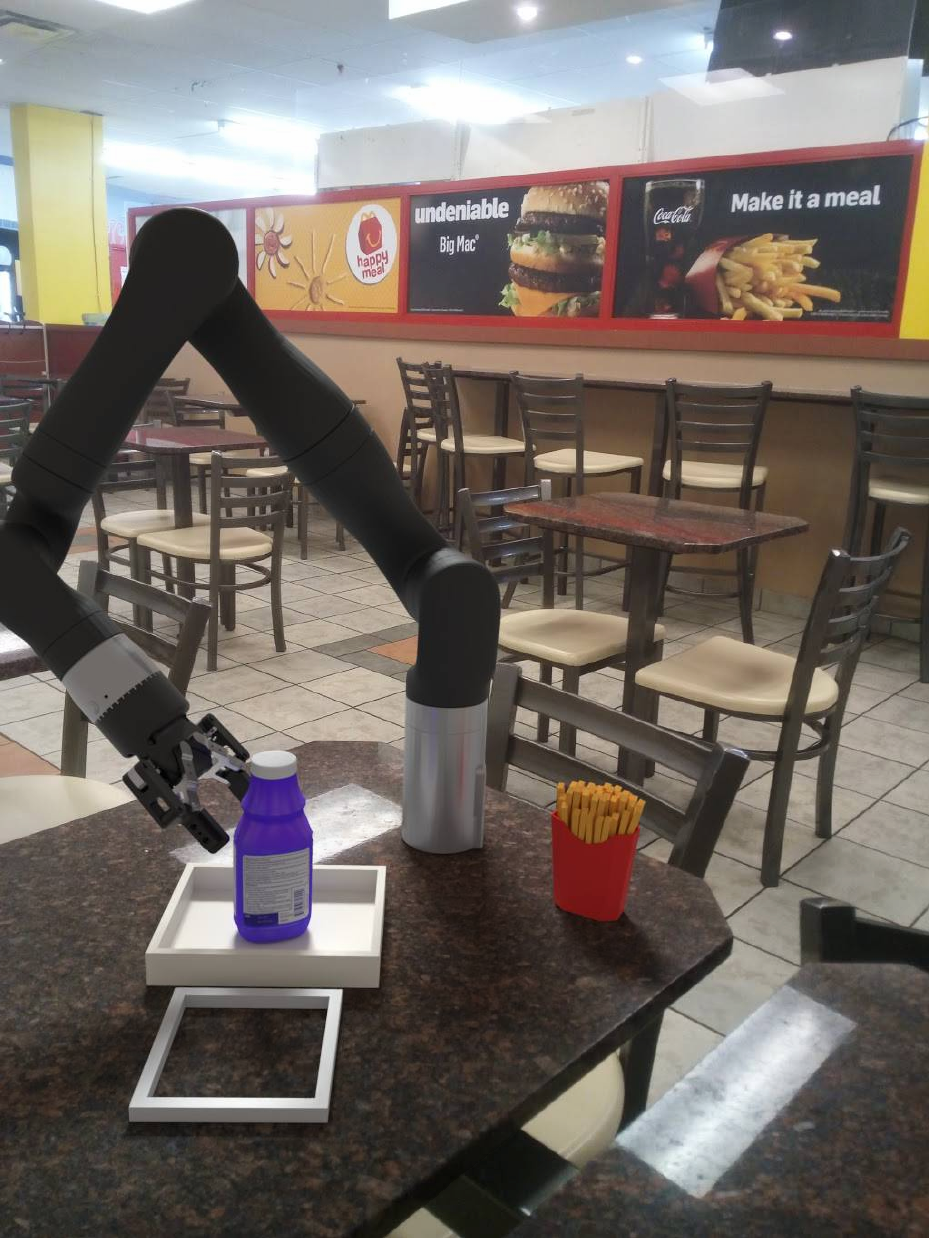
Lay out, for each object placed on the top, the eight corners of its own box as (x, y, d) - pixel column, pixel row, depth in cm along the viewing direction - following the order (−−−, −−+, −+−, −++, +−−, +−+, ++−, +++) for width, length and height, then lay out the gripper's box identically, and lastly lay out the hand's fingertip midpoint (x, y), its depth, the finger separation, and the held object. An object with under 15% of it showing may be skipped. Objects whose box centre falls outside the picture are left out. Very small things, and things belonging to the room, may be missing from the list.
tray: (385, 893, 103) (386, 866, 102) (378, 987, 87) (379, 956, 86) (188, 890, 102) (187, 862, 101) (146, 984, 86) (145, 953, 85)
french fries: (541, 904, 102) (549, 786, 99) (557, 885, 106) (565, 771, 102) (627, 929, 98) (638, 807, 95) (640, 909, 102) (652, 791, 98)
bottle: (305, 908, 98) (305, 742, 94) (318, 939, 93) (319, 765, 89) (230, 920, 96) (227, 749, 91) (239, 952, 90) (236, 773, 86)
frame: (342, 1001, 85) (342, 989, 85) (327, 1122, 72) (327, 1108, 71) (176, 999, 84) (175, 987, 84) (129, 1121, 71) (128, 1107, 71)
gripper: (108, 694, 84) (236, 838, 84) (189, 650, 97) (299, 775, 98) (54, 745, 86) (179, 885, 87) (141, 695, 100) (248, 817, 100)
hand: (242, 827), depth 92 cm, fingers open, 8 cm apart
